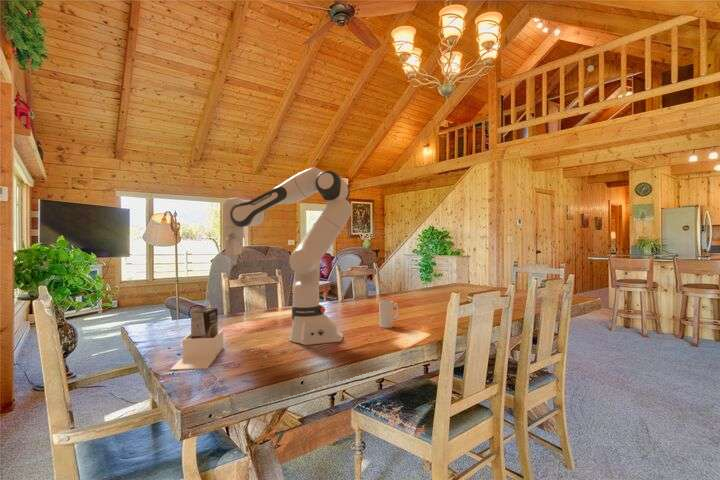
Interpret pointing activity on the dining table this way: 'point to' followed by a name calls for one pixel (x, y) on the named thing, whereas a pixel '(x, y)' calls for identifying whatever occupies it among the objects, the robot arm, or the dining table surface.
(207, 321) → the coffee box
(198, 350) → the box
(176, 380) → the dining table surface
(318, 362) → the dining table surface
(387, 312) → the mug
